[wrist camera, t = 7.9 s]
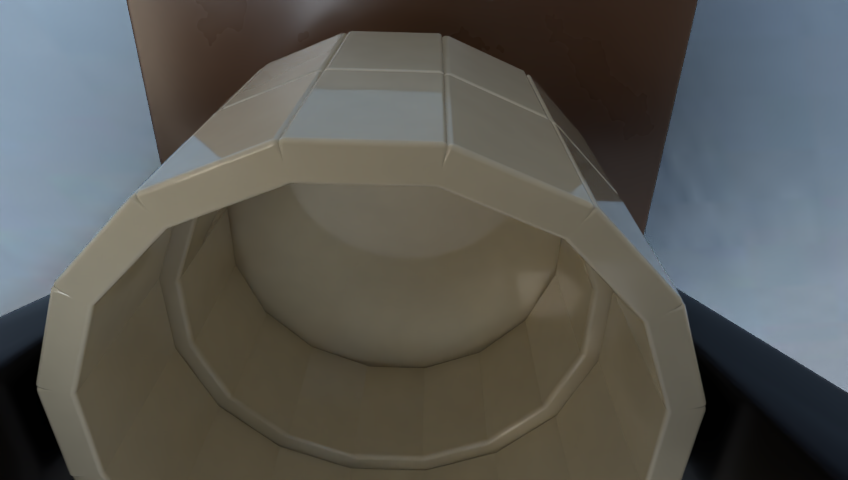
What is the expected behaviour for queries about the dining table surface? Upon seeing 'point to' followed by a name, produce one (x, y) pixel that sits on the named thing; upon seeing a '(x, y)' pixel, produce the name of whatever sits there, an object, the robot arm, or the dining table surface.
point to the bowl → (373, 291)
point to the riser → (449, 16)
